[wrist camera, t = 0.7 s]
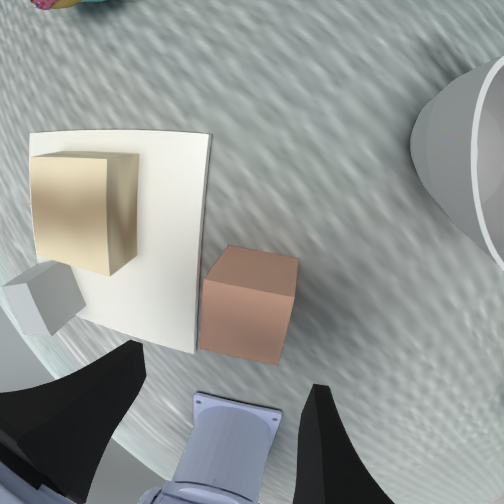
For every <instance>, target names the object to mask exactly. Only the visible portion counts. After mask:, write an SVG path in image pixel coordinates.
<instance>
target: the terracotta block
mask: <svg viewBox="0 0 504 504" xmlns="http://www.w3.org/2000/svg"><path fill="white" fill-rule="evenodd" d="M298 259H299V258H295V257H289V256H284V255H279V254H273V253H268V252H263V251H257V250H252V249H247V248H241V247H236V246H231V245H228V246H227V247H226V249H225V250H224V251H223V253H222V254H221V256H220V257H219V258H218V260H217V261H216V263H215V264H214V265H213V267H212V268H211V269H210V271H209V272H208V274H207V275H206V276H205V278H204V280H203V296H202V314H201V335H200V348H201V349H205V350H209V351H213V352H217V353H221V354H226V355H230V356H234V357H239V358H243V359H248V360H253V361H257V362H262V363H267V364H273V365H278V364H279V360H280V356H281V353H282V349H283V345H284V341H285V337H286V332H287V328H288V324H289V320H290V316H291V312H292V307H293V303H294V299H295V290H296V280H297V270H298Z"/></svg>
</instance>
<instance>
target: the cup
mask: <svg viewBox="0 0 504 504" xmlns="http://www.w3.org/2000/svg"><path fill="white" fill-rule="evenodd" d="M410 152H411V157H412V160H413V163H414V166H415V168H416V171H417V174H418V176H419V178H420V180H421V182H422V184H423V186H424V187H425V189H426V190H427V191H428V193H429V194H430V195H431V196H432V197H433V199H434V200H435V201H436V202H437V203H438V205H439V206H440V207H441V208H442V209H443V211H444V212H445V213H446V214H447V216H448V217H449V218H450V219H451V221H452V222H453V223H454V224H455V225H456V226H457V227H458V228H459V229H461V230H462V231H463V232H464V233H465V234H466V235H467V236H468V237H469V238H470V239H472V240H473V241H474V242H475V243H476V244H477V245H478V246H479V247H480V248H481V249H482V250H483V251H484V252H485V253H486V254H487V255H488V256H489V257H490V258H491V259H492V260H493V261H494V262H495V263H496V264H497V265H498V266H499V267H500V268H501V269H502V270H503V271H504V55H503V56H500V57H498V58H496V59H494V60H492V61H490V62H488V63H486V64H484V65H482V66H480V67H477V68H475V69H473V70H471V71H469V72H467V73H465V74H463V75H461V76H459V77H458V78H456V79H454V80H453V81H452V82H451V83H449V84H448V85H447V86H446V87H445V88H444V89H443V90H441V91H440V92H439V93H438V94H437V95H436V96H435V97H433V98H432V99H431V100H430V101H429V102H428V103H427V104H426V105H425V106H424V107H423V109H422V110H421V112H420V113H419V115H418V118H417V120H416V122H415V125H414V127H413V130H412V133H411V138H410Z"/></svg>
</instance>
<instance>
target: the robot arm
mask: <svg viewBox="0 0 504 504" xmlns="http://www.w3.org/2000/svg"><path fill="white" fill-rule="evenodd" d="M145 378H146V369H145V361H144V353H143V344H142V343H139V342H136V341H133V340H129V341H127V342H125V343H124V344H122V345H121V346H119V347H117V348H116V349H114V350H113V351H111V352H109V353H108V354H106V355H104V356H103V357H101V358H99V359H98V360H96V361H94V362H93V363H91V364H89V365H87V366H85V367H83V368H82V369H80V370H78V371H76V372H74V373H72V374H70V375H67V376H65V377H63V378H60V379H58V380H55V381H53V382H50V383H46V384H43V385H40V386H36V387H33V388H29V389H24V390H19V391H13V392H4V393H0V504H74V503H72V502H70V501H69V500H67V499H65V498H64V497H66V498H68V499H70V500H71V501H73V502H75V503H77V504H84V503H86V499H87V496H88V493H89V489H90V486H91V483H92V480H93V477H94V475H95V472H96V469H97V467H98V464H99V462H100V460H101V457H102V455H103V453H104V451H105V448H106V446H107V444H108V442H109V440H110V438H111V436H112V434H113V433H114V431H115V429H116V428H117V426H118V425H119V423H120V422H121V420H122V418H123V417H124V415H125V414H126V412H127V411H128V409H129V408H130V406H131V405H132V403H133V402H134V400H135V398H136V397H137V395H138V393H139V391H140V389H141V387H142V385H143V383H144V381H145ZM281 418H282V412H281V411H278V410H273V409H268V408H263V407H258V406H253V405H248V404H243V403H239V402H234V401H230V400H226V399H222V398H218V397H214V396H210V395H206V394H202V393H195V395H194V428H193V430H192V432H191V435H190V437H189V440H188V442H187V445H186V447H185V449H184V452H183V454H182V457H181V459H180V462H179V464H178V466H177V469H176V471H175V474H174V476H173V478H172V481H168V480H166V481H165V483H164V486H163V488H159V487H154V488H152V489H151V490H148V491H146V492H145V493H144V494H143V495H142V496H141V497H140V499H139V500H138V502H137V504H260V503H257V502H258V498H259V493H260V488H261V483H262V478H263V473H264V468H265V463H266V458H267V455H268V453H269V450H270V448H271V445H272V442H273V440H274V437H275V434H276V431H277V429H278V426H279V423H280V420H281ZM59 494H60V495H62V496H64V497H62V496H60V495H59ZM293 504H395V503H394V502H393V501H392V500H391V499H390V498H389V497H388V496H387V495H386V494H385V493H384V491H383V490H382V489H381V488H380V486H379V485H378V484H377V483H376V481H375V480H374V479H373V478H372V476H371V475H370V473H369V472H368V470H367V469H366V467H365V466H364V464H363V463H362V461H361V460H360V458H359V456H358V454H357V453H356V451H355V449H354V447H353V445H352V443H351V441H350V439H349V437H348V435H347V433H346V431H345V428H344V426H343V424H342V421H341V419H340V416H339V414H338V411H337V408H336V406H335V403H334V400H333V397H332V394H331V390H330V388H329V386H326V385H319V384H313V386H312V389H311V391H310V394H309V396H308V399H307V401H306V404H305V406H304V409H303V411H302V413H301V419H300V426H299V433H298V453H297V477H296V488H295V494H294V499H293Z"/></svg>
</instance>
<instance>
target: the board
mask: <svg viewBox="0 0 504 504" xmlns="http://www.w3.org/2000/svg"><path fill="white" fill-rule="evenodd" d="M211 138H212V134H203V133H190V132H175V131H155V130H73V131H54V132H40V133H30V148H29V173H30V157H33V156H38V155H43V154H48V153H54V152H59V151H98V152H122V153H139V168H138V192H137V256H136V257H135V258H133V259H132V260H131V261H130V262H128V263H127V264H126V265H124V266H123V267H122V268H121V269H119V270H118V271H117V272H115V273H114V274H113V275H112V276H110V277H109V276H105V275H102V274H98V273H95V272H91V271H88V270H84V269H81V268H78V267H74V266H71V265H70V266H71V269H72V272H73V274H74V277H75V279H76V282H77V284H78V287H79V289H80V291H81V294H82V296H83V299H84V301H85V303H86V306H85V307H84V308H83V309H82V310H80V311H79V312H78V313H77V314H76V316H78V317H81V318H83V319H86V320H89V321H91V322H94V323H97V324H99V325H102V326H105V327H108V328H110V329H113V330H116V331H119V332H122V333H125V334H128V335H131V336H134V337H137V338H140V339H143V340H146V341H150V342H153V343H156V344H159V345H163V346H166V347H170V348H173V349H177V350H180V351H184V352H187V353H191V354H194V353H195V351H196V341H197V314H198V293H199V275H200V259H201V244H202V231H203V218H204V207H205V195H206V185H207V175H208V165H209V156H210V147H211ZM30 198H31V187H30ZM31 212H32V204H31ZM32 223H33V217H32ZM33 232H34V227H33ZM34 240H35V236H34ZM35 247H36V243H35ZM36 254H37V251H36ZM37 261H38V263H42V262H47V261H51V259H48V258H45V257H42V256H39V255H37Z"/></svg>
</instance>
